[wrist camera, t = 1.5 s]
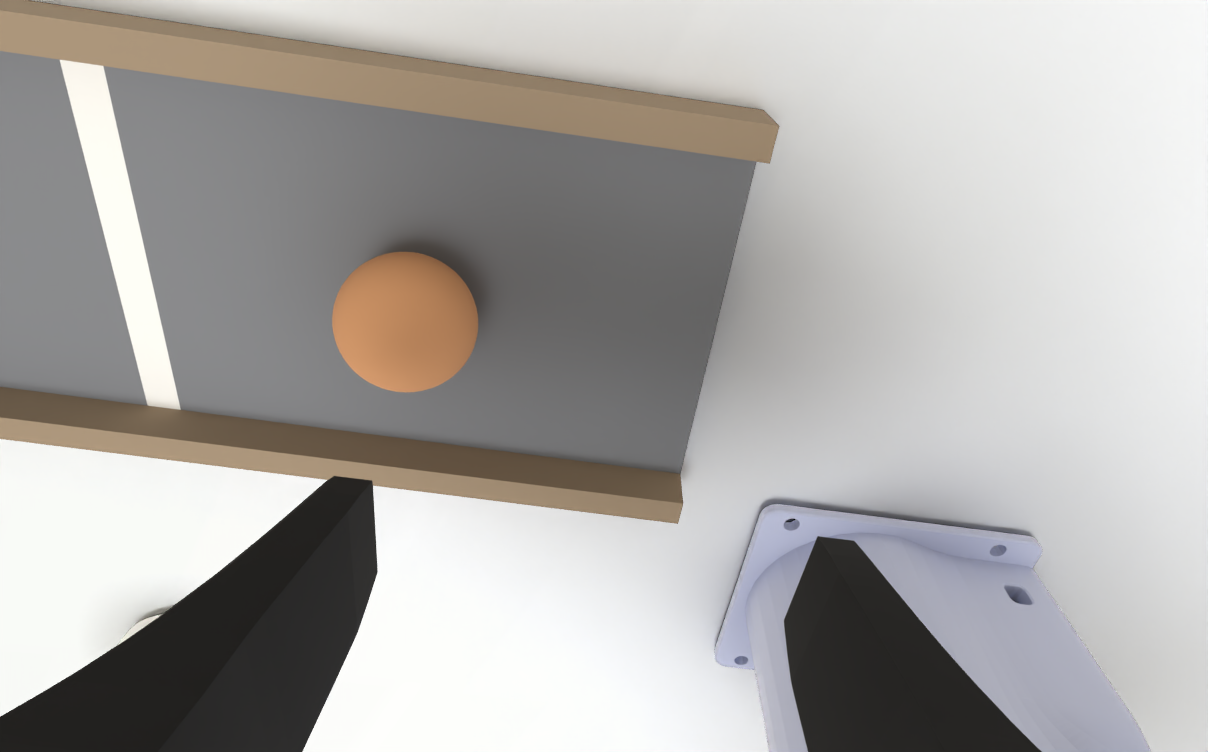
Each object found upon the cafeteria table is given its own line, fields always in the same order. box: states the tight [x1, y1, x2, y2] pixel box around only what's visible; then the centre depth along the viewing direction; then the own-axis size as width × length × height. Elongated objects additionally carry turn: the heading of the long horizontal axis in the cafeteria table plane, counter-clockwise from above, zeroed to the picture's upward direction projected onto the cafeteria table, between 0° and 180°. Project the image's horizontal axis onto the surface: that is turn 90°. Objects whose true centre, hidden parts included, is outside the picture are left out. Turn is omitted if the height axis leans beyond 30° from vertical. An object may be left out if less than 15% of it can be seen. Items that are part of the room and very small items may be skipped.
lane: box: [0, 0, 779, 524], centre depth 18 cm, size 27×12×2 cm, turn 82°
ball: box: [332, 252, 478, 392], centre depth 17 cm, size 4×4×4 cm
